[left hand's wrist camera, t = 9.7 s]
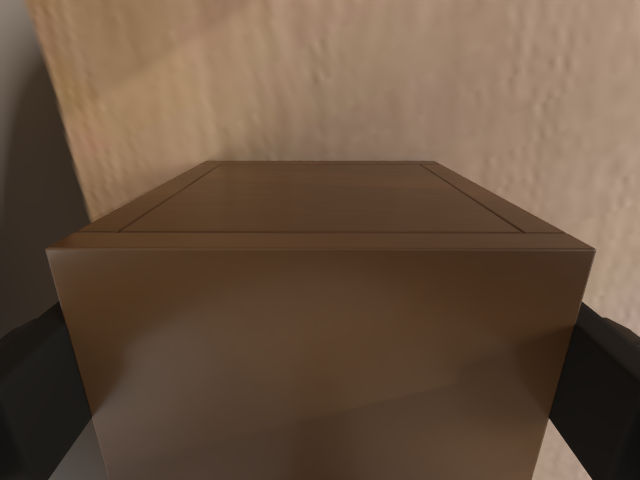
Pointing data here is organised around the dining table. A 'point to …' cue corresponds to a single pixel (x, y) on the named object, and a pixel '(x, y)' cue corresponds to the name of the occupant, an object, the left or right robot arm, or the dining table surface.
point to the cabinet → (320, 324)
